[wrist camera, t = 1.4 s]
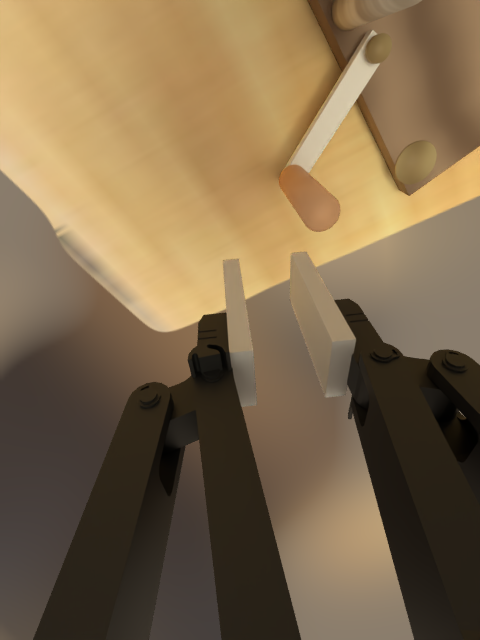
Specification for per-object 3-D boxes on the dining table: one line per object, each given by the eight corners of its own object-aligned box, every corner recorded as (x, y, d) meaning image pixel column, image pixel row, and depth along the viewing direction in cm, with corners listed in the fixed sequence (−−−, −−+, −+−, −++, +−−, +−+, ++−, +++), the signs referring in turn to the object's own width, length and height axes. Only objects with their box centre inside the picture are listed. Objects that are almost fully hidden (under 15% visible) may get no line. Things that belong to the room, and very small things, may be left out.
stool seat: (471, -183, 19) (695, -412, 10) (526, 98, 28) (670, 104, 19) (301, -3, 23) (356, -55, 14) (396, 192, 32) (466, 233, 23)
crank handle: (387, 51, 23) (478, 34, 15) (293, 196, 29) (324, 237, 21) (364, 28, 23) (447, -2, 15) (271, 182, 28) (295, 220, 20)
